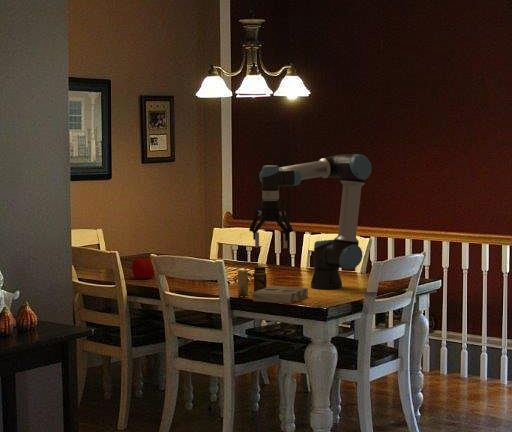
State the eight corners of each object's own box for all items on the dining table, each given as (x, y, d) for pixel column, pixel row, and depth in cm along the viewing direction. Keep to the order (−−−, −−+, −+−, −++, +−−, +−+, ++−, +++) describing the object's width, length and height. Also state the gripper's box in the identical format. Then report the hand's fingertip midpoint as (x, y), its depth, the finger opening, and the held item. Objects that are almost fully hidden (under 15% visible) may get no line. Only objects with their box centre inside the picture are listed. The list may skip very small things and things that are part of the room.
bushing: (241, 295, 459) (240, 269, 458) (249, 296, 457) (249, 270, 456) (236, 297, 455) (236, 271, 454) (245, 297, 453) (244, 271, 452)
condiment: (266, 293, 464) (265, 268, 463) (248, 293, 465) (248, 268, 464) (268, 291, 471) (268, 266, 470) (250, 291, 472) (250, 266, 471)
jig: (272, 294, 461) (272, 286, 460) (307, 296, 453) (307, 288, 452) (253, 301, 443) (252, 292, 442) (289, 303, 435) (289, 294, 434)
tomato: (137, 276, 527) (136, 255, 526) (160, 277, 523) (160, 255, 523) (128, 279, 515) (127, 257, 514) (152, 280, 512) (151, 258, 511)
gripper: (241, 200, 443) (242, 247, 445) (293, 201, 433) (294, 249, 435) (248, 199, 450) (249, 245, 452) (299, 200, 440) (300, 247, 442)
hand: (271, 247), depth 443 cm, fingers open, 13 cm apart
